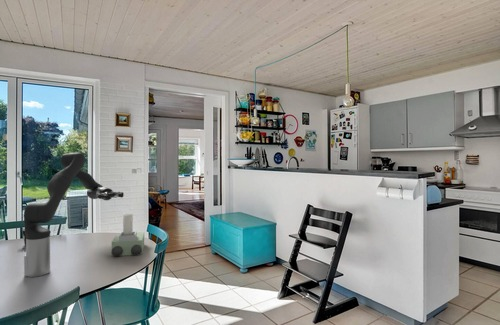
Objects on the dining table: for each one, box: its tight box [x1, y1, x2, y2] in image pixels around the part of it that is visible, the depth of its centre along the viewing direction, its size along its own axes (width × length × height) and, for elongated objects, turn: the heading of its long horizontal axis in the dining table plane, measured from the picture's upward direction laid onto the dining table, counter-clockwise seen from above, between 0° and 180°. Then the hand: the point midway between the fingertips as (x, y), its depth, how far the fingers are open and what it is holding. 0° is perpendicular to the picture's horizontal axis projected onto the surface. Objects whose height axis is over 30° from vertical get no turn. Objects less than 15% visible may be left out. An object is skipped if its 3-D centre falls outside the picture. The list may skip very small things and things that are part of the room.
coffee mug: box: [22, 228, 26, 247], centre depth 183 cm, size 12×9×10 cm
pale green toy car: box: [111, 231, 145, 258], centre depth 174 cm, size 16×21×11 cm
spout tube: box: [122, 213, 134, 236], centre depth 170 cm, size 5×5×14 cm
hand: (115, 196), depth 174 cm, fingers open, 8 cm apart
